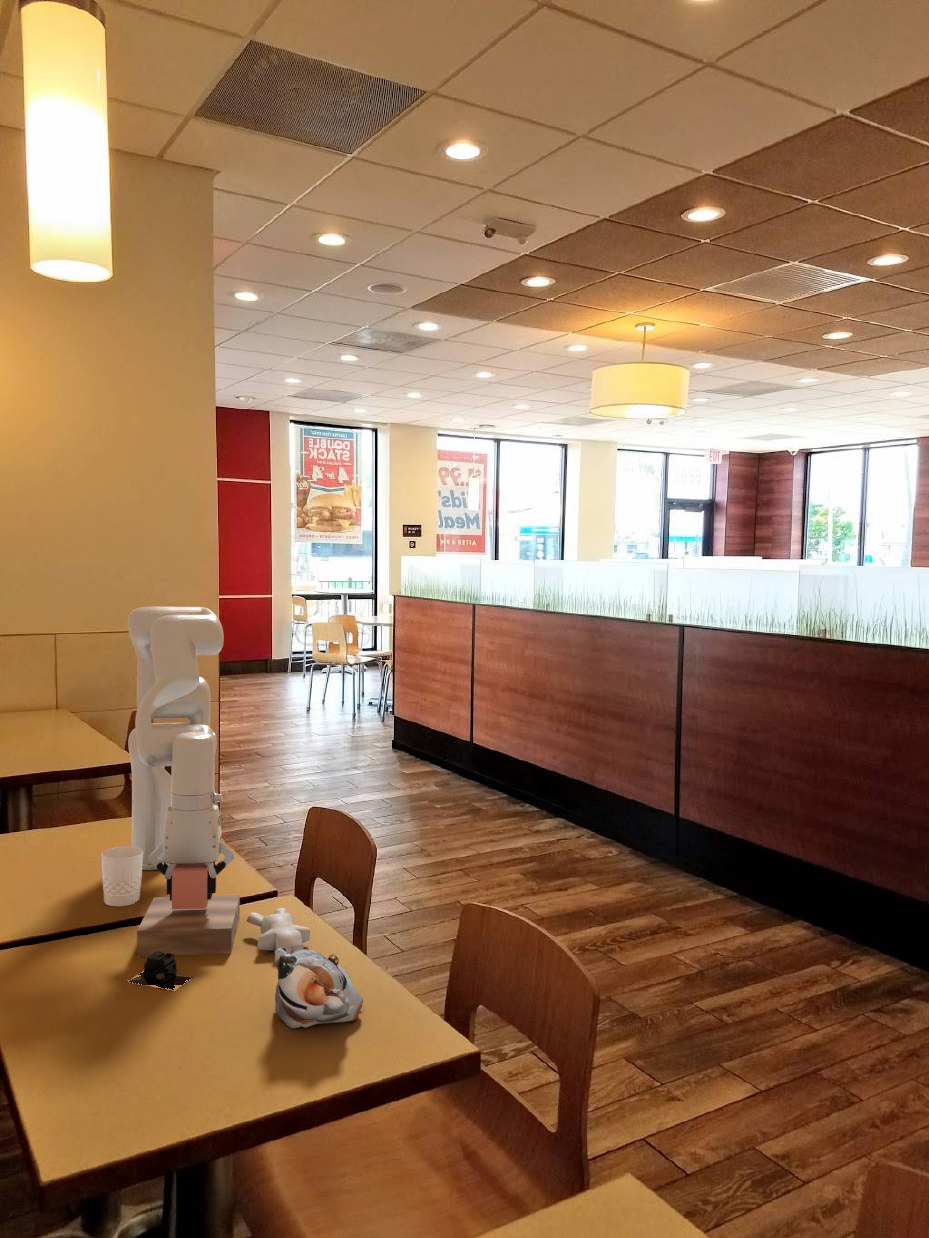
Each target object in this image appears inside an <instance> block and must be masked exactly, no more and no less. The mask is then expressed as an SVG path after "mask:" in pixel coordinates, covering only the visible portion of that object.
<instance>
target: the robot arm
mask: <svg viewBox="0 0 929 1238" xmlns="http://www.w3.org/2000/svg"><path fill="white" fill-rule="evenodd" d="M127 616H128V617H127V629H128V630H127V631H128V635H129V639H130V641H131V643H132V646H133V649H134V652H135V655H136V661H137V662H136V663H137V666H136V667H137V669H136V672H137V673H136V711H135V712H136V713H135V724H134V725H135V727H134V728H133V729H132V730H131V732H130V733H129V736H128V740H127V742H128V743H127V744H128V752H129V753H128V755H129V758H130V767H131V769H130V770H131V846H133V847H139V848H141V849H142V850H143V864H142V871H155V870H158V871H159V872H160V873H161V874H162V875H163V876H164V878H165V879H166V895H169V897H170V900H172V871H173V869H174V868H175V867H176V864H203V863H205V865H206V867H208V872H209V877H208V885H207V899H208V900H211V897H212V896H213V894H216V891H217V876H219V874H220V873H221V872H222V871H223V870H224V869H225V868H226V867H227V866H228V865H229V864H230V863H232V862H233V860H235V857H236V854H235V853H234V852H233V850H231V849H230V847H228V845H226V844H225V842H223V841H222V840H223V839H222V823H221V822H222V821H221V813H220V808H219V805H217V804H216V803H219V802H223V794H222V793H217V792H216V791H215V768H216V767H215V766H216V765H215V764H216V763H215V761H216V760H215V757H216V756H215V755H216V751H217V747H218V746H217V744H218V742H217V735H216V733H215V732H214V730H213V729H212V728H211V709H212V708H211V706H212V704H211V702H212V701H211V700H212V699H211V697H212V696H211V691H210V685H209V684H208V682H207V680H206V679H204V678H203V677H201V676H200V672H199V665H198V659H197V656H215V655H218V654H219V653H220V652H221V651H222V650H223V649H222V648H223V647H224V640H225V638H224V629H223V625H222V623H221V621H220V619H219V617H218V616H217V614H215V613H214V612H213V611H212V610H211V609H209V608H208V607H205V606H204V607H203V606H170V605H169V606H162V605H161V606H160V605H159V606H157V605H155V606H141V607H137V608H135V609H133V610H131V611H130V613H129V614H128V615H127ZM174 719H175V720H176V719H177V720H178V719H187V720H188V721H185V722H182V721H181V722H157V723H152V720H174ZM165 767H171V774H170V773H169V772H168V771H167V770H166V769H165ZM221 854H222V855H223V856H224V857H223V859H221V860H220V861H219V862H217V861H218V860H219V858H220V855H221Z"/></svg>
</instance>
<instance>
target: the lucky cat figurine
mask: <svg viewBox="0 0 929 1238" xmlns="http://www.w3.org/2000/svg"><path fill="white" fill-rule="evenodd" d="M273 953H274V964H275V966H276V970H277V984H276V987H275V996H274V1001H275V1008H274V1011H275V1014H276V1017H277V1018H279V1020H280V1021H282V1022H283V1023H284V1024H285V1025H286V1026H287V1027H288V1028H291V1029H292V1030H295V1029H298V1028H301V1027H302V1028H309V1027H311V1026H314V1025H317V1024H330V1023H332V1024H333V1023H346V1022H355V1021H357V1020H358V1017H359V1014H360V1012H361V1009H362V1008H363V1004H364V997H362V996H361V995H360V994H359V992H358V990H357V989H356V988H355V986H354V983H353V982H352V979H351V978H350V976H349V974H348V972H347V971H346V970H345V969H344V968H343V967H341V966H340V965H338V964H339V962H340V961H339V957H338V956H337V955H336V954H334V953H332V954H330V955H328V958H326V956H324V955H323V954H322V953H320V952H316V950H313V949H307V948H305V949H304V948H303V949H302V950H298V951H295V952H293V953H292V954H289V953H288V952H287V950H286V949H285V947H281V948H279V949H277V950H276V951H274V952H273Z"/></svg>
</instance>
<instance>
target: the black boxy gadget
mask: <svg viewBox="0 0 929 1238" xmlns="http://www.w3.org/2000/svg"><path fill="white" fill-rule="evenodd" d="M164 954H165V953H164V952H159V951H156V952H155V953H153V954H151V955H150V956H146V957H145V962H144V964H143V968H144V969H143V970H144V972H143V973H140V972H139V973H140V974H138V973H137V974H138V975H141V976H139V977H136V978H134V979H132V980H130V981H129V982H131V983H130V984H132V982H133V983H134V985H137V984H138V983H139V984H140V985H139V986H142V985H156V986H158V987H161V988H164V989H165V988H167V989H168V988H169V989H172V990H174V989H173V988H175V986H174V985H183V984H184V983H186V982H187V981H186V980H188V981H189V979H191V978H193V979H194V977H192V976H188V977H185V976H186V975H183V976H180V975H181V974H177V966H178V965H177V964H178V963H177V962H178V961H177V959H176V955H175V954H170V953H167V954H165V955H164ZM190 977H191V978H190ZM185 981H186V982H185ZM127 982H128V981H127V980H125V983H127ZM189 982H190V981H189ZM135 983H136V984H135ZM141 984H142V985H141ZM186 984H187V983H186ZM183 986H184V985H183Z"/></svg>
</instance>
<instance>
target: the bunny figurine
mask: <svg viewBox="0 0 929 1238" xmlns="http://www.w3.org/2000/svg"><path fill="white" fill-rule="evenodd" d="M246 923H248V924H251V925H255V926H257V927H260V933H261V934H260V935H259V936H258V937H257V949H258V950H260V951H263V950H264V951H272V952H273V951H274V952H275V951H276V950H277V949H279V948H281V947H285V949H286V950H287V952H288V953H289V954H292V953H293V952H295V951H298V950H302V949H304V943H306V942H309V941H310V936H311V929H310V927H307V926H302V925H297V924H294V922H293V917H292V915H291V913H289V912H288V911H287V908H285V907H279V908H276V909H275V910H274V913H273V914H270V915H263V914H260V913H258V912H250V913H249V914H248V916H247V919H246Z"/></svg>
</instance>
